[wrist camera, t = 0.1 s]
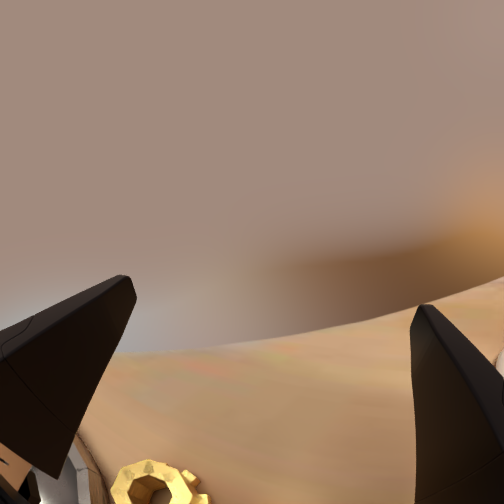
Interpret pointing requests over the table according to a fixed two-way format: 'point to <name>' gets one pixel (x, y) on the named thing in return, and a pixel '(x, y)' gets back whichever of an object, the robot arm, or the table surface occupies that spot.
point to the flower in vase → (500, 363)
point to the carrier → (74, 480)
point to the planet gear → (155, 484)
